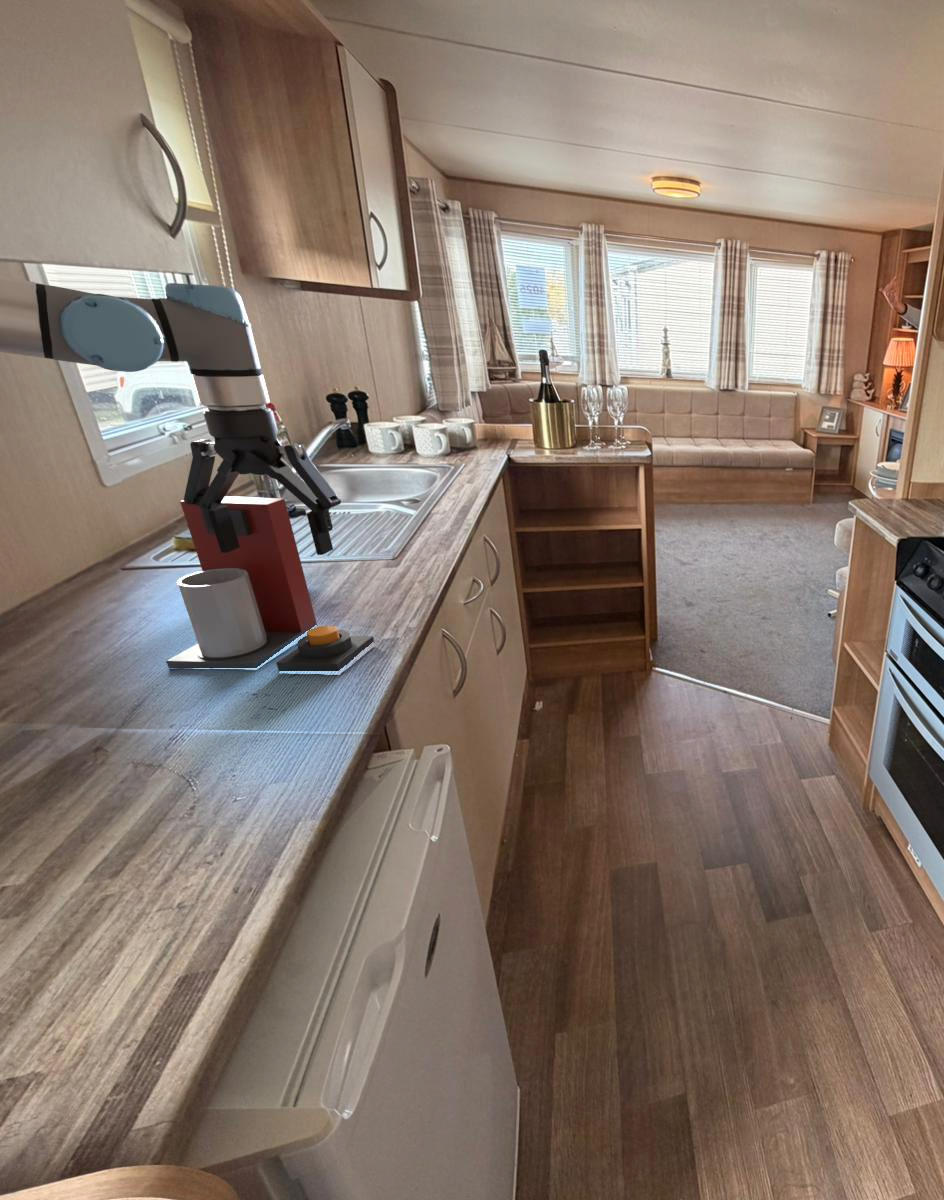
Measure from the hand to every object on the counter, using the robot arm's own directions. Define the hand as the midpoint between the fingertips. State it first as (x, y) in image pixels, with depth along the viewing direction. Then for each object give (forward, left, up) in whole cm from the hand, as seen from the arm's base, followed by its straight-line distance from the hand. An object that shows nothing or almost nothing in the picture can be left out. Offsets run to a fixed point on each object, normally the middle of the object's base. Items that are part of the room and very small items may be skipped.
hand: (278, 551), depth 97 cm
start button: (+4, -1, -15) cm, 15 cm away
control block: (+4, -1, -19) cm, 19 cm away
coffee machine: (-11, +3, -19) cm, 22 cm away
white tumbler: (-11, +1, -17) cm, 20 cm away
